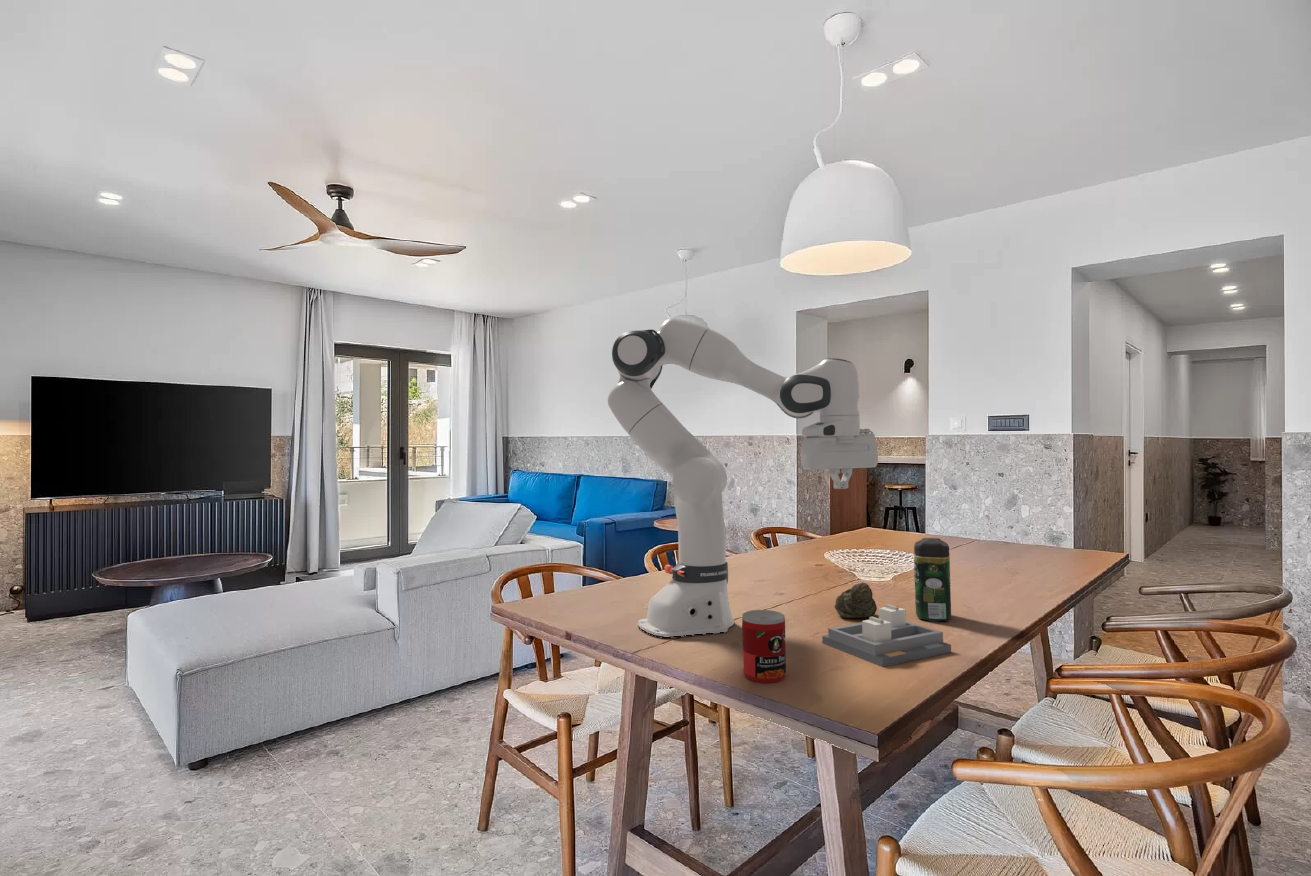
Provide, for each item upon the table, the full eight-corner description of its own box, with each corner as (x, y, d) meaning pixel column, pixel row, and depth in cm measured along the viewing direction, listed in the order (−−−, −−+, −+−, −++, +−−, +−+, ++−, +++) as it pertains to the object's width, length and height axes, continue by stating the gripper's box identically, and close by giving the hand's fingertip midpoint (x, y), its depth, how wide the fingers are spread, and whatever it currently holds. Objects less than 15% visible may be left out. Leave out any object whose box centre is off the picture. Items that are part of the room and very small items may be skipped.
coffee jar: (915, 611, 165) (913, 535, 165) (950, 613, 162) (948, 536, 163) (914, 621, 156) (913, 541, 156) (952, 623, 153) (950, 542, 154)
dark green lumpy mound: (833, 597, 155) (878, 598, 153) (831, 562, 165) (874, 562, 163) (834, 631, 161) (878, 632, 159) (832, 595, 171) (874, 596, 168)
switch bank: (882, 666, 125) (882, 647, 125) (822, 642, 141) (822, 626, 141) (951, 652, 133) (950, 634, 133) (887, 631, 148) (886, 615, 148)
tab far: (891, 636, 139) (891, 608, 139) (878, 631, 142) (878, 605, 142) (905, 633, 141) (905, 606, 141) (893, 629, 144) (892, 603, 144)
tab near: (875, 651, 129) (875, 622, 129) (862, 646, 133) (862, 617, 133) (891, 648, 131) (890, 619, 131) (877, 643, 134) (877, 615, 134)
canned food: (758, 686, 116) (757, 622, 116) (734, 672, 124) (733, 612, 124) (795, 679, 119) (794, 617, 119) (770, 666, 127) (769, 607, 127)
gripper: (864, 428, 163) (865, 486, 163) (796, 429, 154) (797, 489, 154) (883, 428, 157) (884, 487, 157) (814, 428, 148) (815, 491, 148)
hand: (841, 488), depth 155 cm, fingers closed
